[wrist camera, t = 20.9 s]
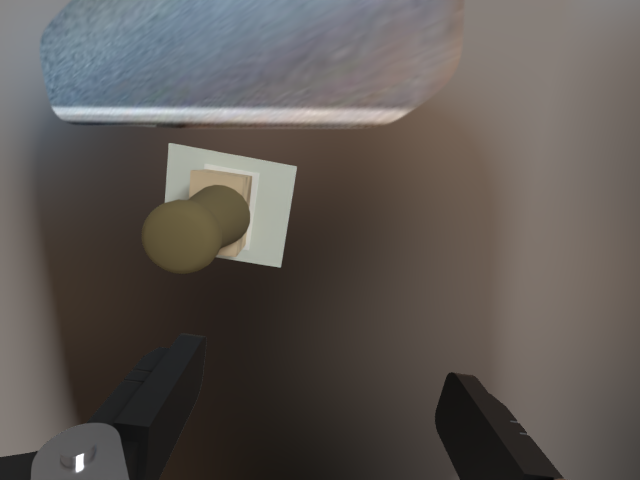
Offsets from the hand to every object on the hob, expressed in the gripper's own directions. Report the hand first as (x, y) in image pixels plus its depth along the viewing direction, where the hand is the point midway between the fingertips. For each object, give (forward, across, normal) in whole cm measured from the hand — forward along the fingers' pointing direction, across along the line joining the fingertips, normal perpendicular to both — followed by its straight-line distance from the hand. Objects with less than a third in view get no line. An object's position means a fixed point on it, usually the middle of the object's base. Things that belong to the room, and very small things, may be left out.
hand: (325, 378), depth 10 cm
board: (+28, +10, 0) cm, 30 cm away
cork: (+22, +10, 0) cm, 24 cm away
